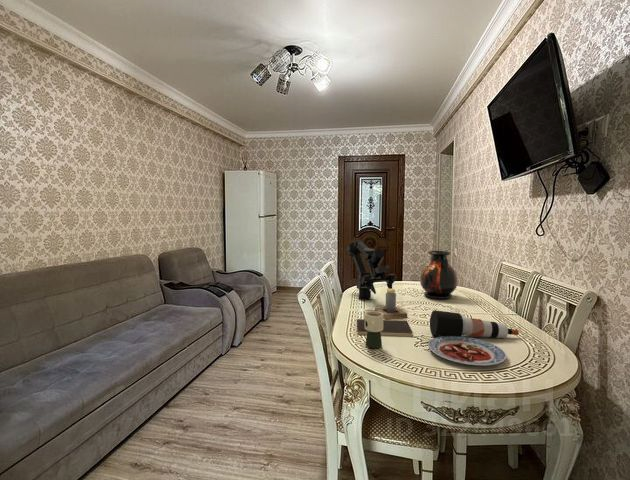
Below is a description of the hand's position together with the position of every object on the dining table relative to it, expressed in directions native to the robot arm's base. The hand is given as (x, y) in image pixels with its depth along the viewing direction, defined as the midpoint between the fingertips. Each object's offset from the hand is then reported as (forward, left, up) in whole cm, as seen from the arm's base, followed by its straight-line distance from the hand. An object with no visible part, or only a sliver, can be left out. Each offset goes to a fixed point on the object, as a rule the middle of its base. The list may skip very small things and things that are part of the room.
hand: (383, 293), depth 176 cm
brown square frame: (+4, -7, -9) cm, 12 cm away
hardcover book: (+2, -29, -10) cm, 31 cm away
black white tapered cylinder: (+39, -29, -10) cm, 50 cm away
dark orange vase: (+30, +37, -9) cm, 48 cm away
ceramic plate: (+33, -48, -10) cm, 59 cm away
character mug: (0, -50, -9) cm, 51 cm away
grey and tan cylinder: (+4, -7, -9) cm, 12 cm away
